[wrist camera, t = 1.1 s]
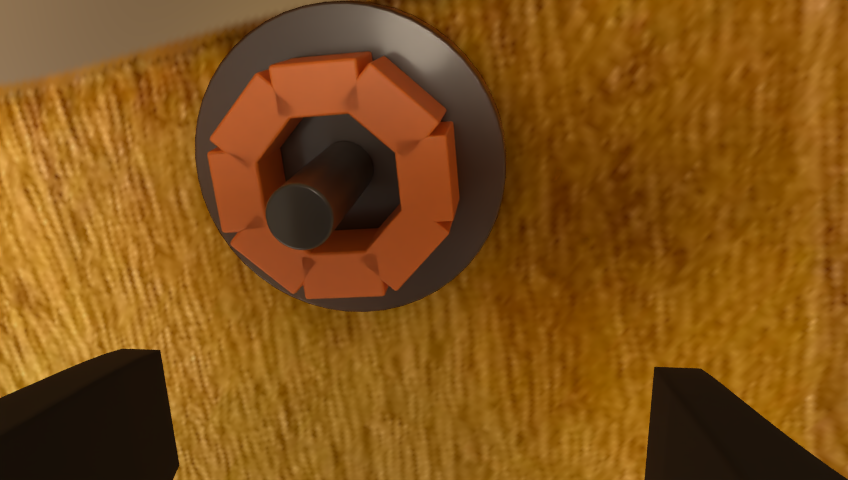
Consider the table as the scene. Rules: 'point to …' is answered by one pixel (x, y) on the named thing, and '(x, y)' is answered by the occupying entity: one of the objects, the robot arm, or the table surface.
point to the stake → (363, 141)
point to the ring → (382, 116)
